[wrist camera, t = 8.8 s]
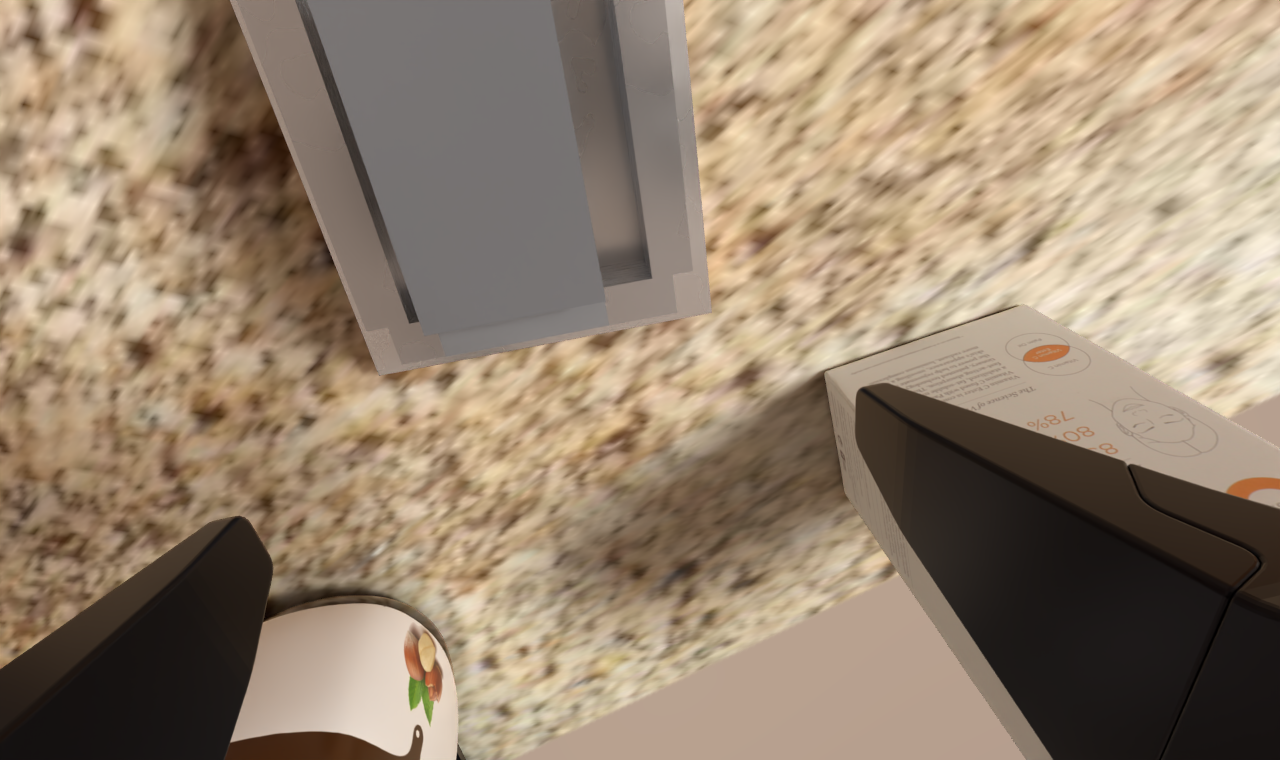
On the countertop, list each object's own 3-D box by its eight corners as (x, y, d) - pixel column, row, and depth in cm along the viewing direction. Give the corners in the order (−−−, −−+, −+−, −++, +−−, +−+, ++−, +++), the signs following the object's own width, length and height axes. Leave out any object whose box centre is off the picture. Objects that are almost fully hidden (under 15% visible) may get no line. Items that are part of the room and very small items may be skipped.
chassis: (706, 303, 22) (725, 335, 20) (384, 364, 21) (365, 404, 19) (653, -246, 15) (674, -296, 13) (173, -179, 14) (105, -217, 12)
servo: (594, 262, 20) (614, 345, 15) (465, 285, 20) (439, 379, 14) (515, -153, 15) (504, -251, 10) (341, -127, 15) (233, -212, 9)
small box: (841, 492, 27) (1061, 828, 16) (819, 368, 24) (1074, 675, 13) (1025, 431, 27) (1382, 726, 15) (1028, 298, 24) (1478, 546, 12)
